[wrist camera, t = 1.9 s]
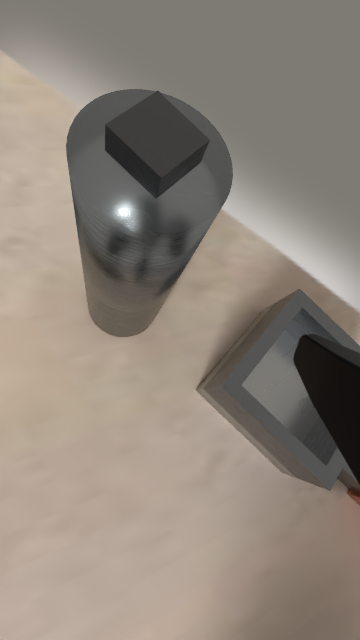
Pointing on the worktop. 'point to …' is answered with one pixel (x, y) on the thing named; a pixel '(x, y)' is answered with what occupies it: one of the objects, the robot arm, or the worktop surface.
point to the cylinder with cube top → (141, 199)
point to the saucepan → (280, 393)
